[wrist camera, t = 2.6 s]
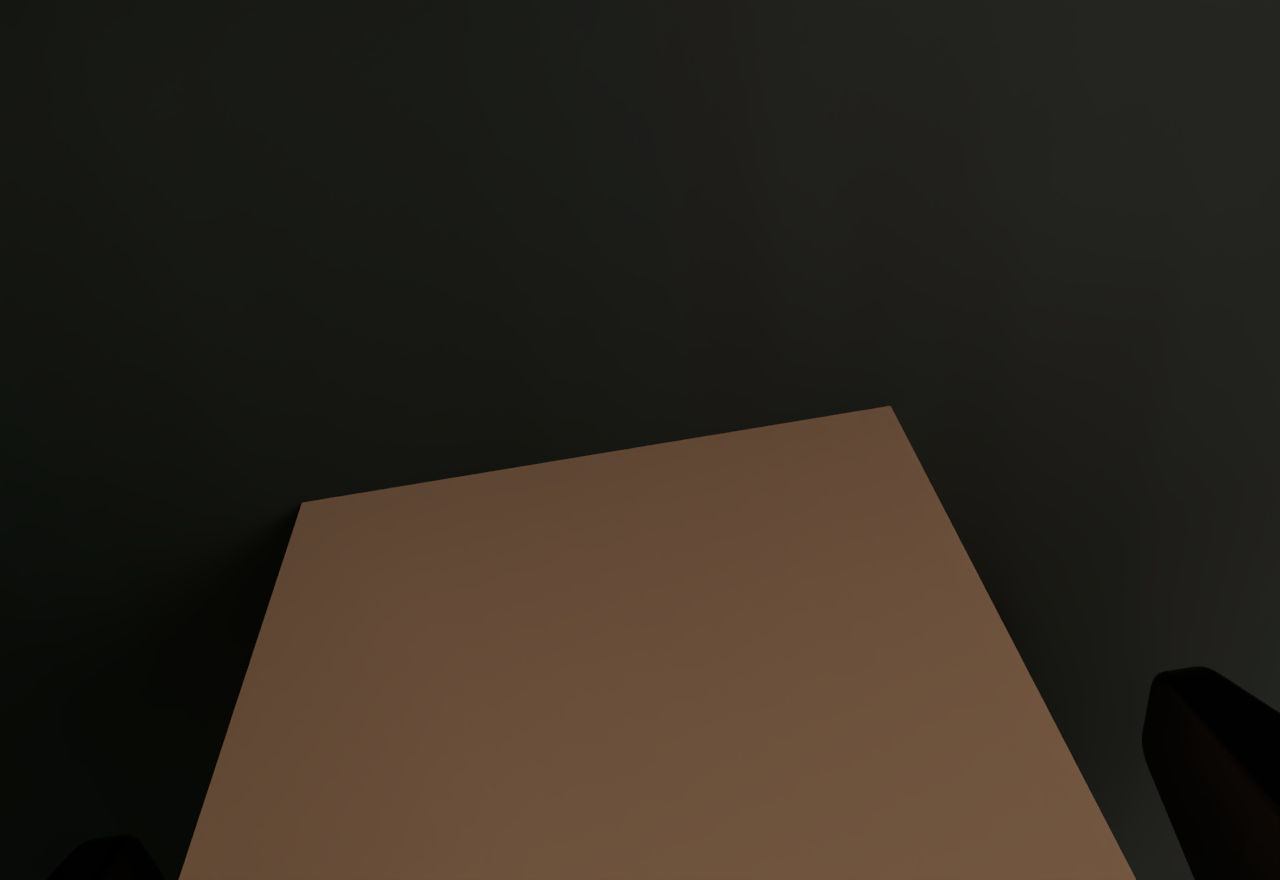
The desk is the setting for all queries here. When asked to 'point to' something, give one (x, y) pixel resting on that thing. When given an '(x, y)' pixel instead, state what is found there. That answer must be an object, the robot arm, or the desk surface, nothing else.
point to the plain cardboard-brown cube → (647, 682)
